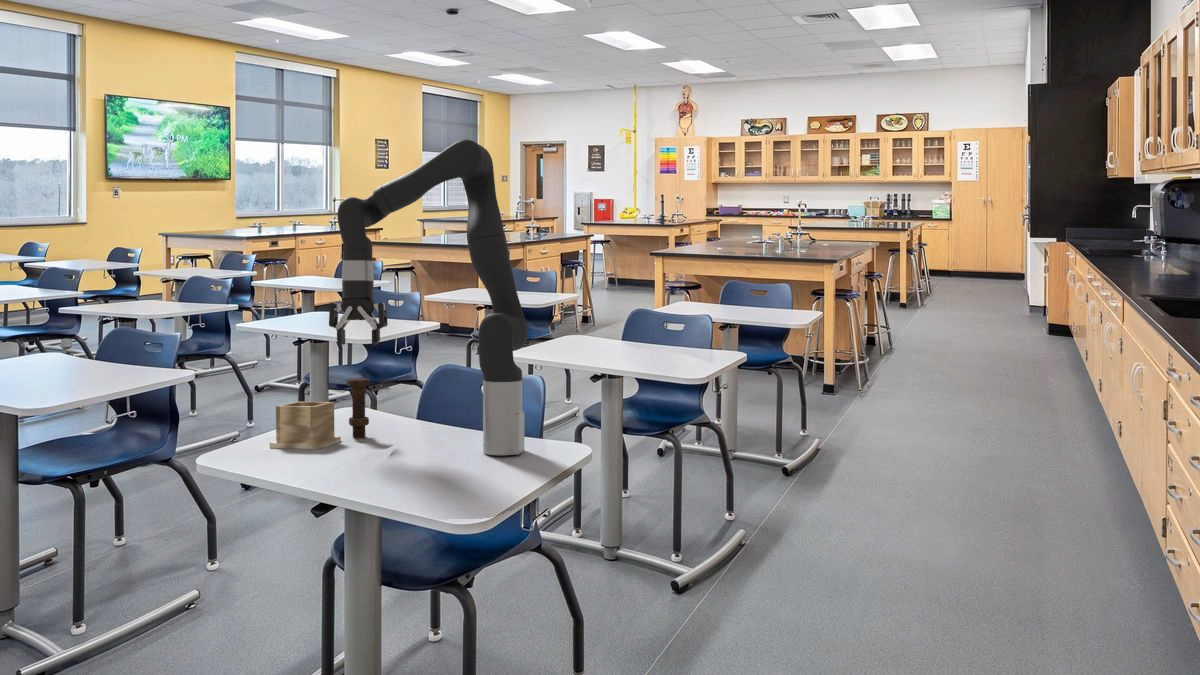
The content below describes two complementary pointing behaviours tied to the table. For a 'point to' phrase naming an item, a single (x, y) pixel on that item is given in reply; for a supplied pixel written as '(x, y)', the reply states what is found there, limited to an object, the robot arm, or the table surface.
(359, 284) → the robot arm
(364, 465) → the table surface
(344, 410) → the table surface
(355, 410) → the bolt
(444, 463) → the table surface
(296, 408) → the socket block
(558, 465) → the table surface
